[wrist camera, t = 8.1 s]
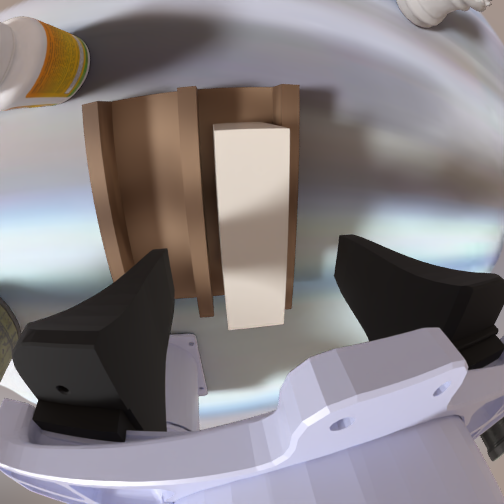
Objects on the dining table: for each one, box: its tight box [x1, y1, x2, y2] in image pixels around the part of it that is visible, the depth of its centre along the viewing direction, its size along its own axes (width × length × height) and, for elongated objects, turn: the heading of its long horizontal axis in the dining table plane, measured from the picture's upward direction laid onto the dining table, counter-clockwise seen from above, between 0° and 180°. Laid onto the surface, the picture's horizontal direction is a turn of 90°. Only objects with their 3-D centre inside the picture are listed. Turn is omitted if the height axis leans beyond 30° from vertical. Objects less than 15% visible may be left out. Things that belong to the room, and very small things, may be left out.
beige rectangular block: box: [213, 122, 290, 330], centre depth 16 cm, size 10×3×7 cm, turn 1°
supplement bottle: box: [0, 16, 90, 111], centre depth 9 cm, size 5×5×10 cm
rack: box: [82, 84, 299, 318], centre depth 18 cm, size 15×13×4 cm
